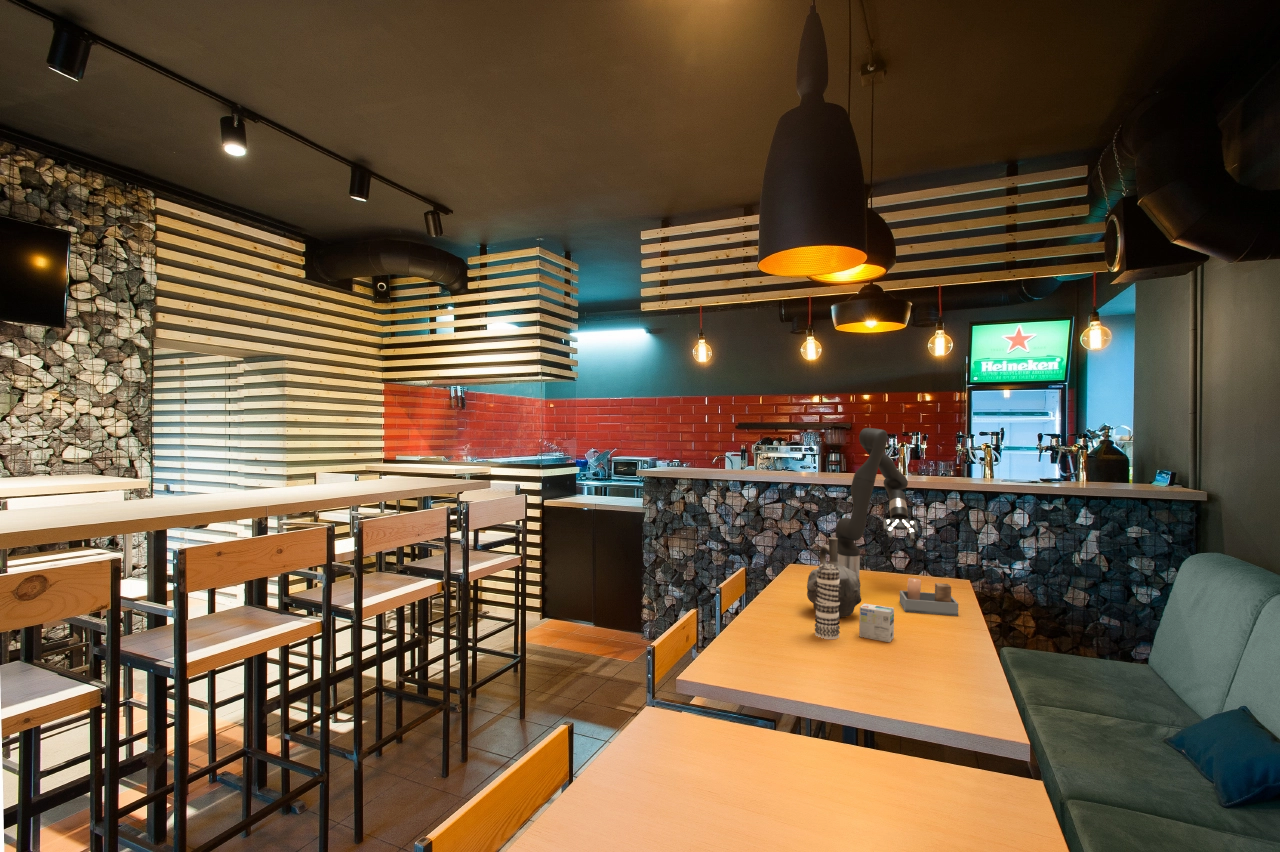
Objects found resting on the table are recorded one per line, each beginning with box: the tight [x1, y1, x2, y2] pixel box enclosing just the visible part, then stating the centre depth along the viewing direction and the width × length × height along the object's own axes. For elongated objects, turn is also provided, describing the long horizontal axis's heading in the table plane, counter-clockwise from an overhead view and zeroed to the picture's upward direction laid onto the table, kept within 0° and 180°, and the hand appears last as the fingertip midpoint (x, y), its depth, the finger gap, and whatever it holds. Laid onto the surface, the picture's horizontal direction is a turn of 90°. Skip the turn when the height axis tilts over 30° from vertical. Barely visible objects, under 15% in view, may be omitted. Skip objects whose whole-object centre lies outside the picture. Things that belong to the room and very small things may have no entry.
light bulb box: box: [858, 602, 895, 643], centre depth 228 cm, size 11×7×11 cm, turn 58°
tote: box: [899, 590, 959, 617], centre depth 265 cm, size 20×15×5 cm
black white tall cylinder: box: [814, 563, 841, 640], centre depth 229 cm, size 9×9×25 cm
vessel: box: [806, 537, 862, 618], centre depth 257 cm, size 24×22×30 cm
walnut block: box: [934, 582, 952, 603], centre depth 261 cm, size 5×5×10 cm
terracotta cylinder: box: [906, 577, 922, 600], centre depth 269 cm, size 5×5×10 cm
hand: (901, 539), depth 285 cm, fingers open, 8 cm apart
